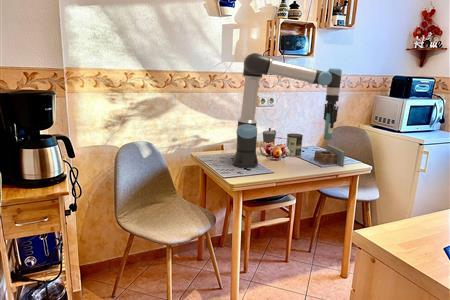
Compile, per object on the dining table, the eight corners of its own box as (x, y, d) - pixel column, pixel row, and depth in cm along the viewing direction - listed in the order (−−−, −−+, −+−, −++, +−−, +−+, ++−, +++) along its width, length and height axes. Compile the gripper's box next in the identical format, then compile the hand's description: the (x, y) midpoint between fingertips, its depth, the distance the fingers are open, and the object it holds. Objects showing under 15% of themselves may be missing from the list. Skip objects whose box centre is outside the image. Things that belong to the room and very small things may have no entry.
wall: (340, 166, 203) (342, 152, 201) (325, 157, 222) (326, 144, 220) (343, 166, 204) (345, 152, 201) (328, 157, 223) (329, 144, 220)
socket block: (321, 164, 206) (322, 154, 205) (314, 159, 216) (315, 150, 214) (335, 164, 208) (337, 154, 206) (328, 159, 217) (329, 150, 216)
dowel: (326, 139, 206) (328, 114, 202) (322, 138, 210) (325, 112, 206) (332, 139, 206) (335, 114, 202) (329, 138, 211) (332, 113, 207)
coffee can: (299, 153, 230) (301, 133, 227) (302, 157, 220) (304, 136, 217) (284, 152, 231) (286, 132, 227) (286, 156, 220) (288, 136, 217)
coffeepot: (269, 157, 218) (271, 130, 213) (257, 154, 223) (258, 128, 219) (280, 152, 230) (282, 127, 225) (268, 150, 235) (269, 125, 231)
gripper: (345, 96, 194) (341, 135, 199) (331, 93, 210) (327, 129, 216) (333, 95, 192) (329, 135, 198) (320, 93, 209) (316, 129, 215)
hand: (328, 132), depth 207 cm, fingers closed on dowel, 4 cm apart
